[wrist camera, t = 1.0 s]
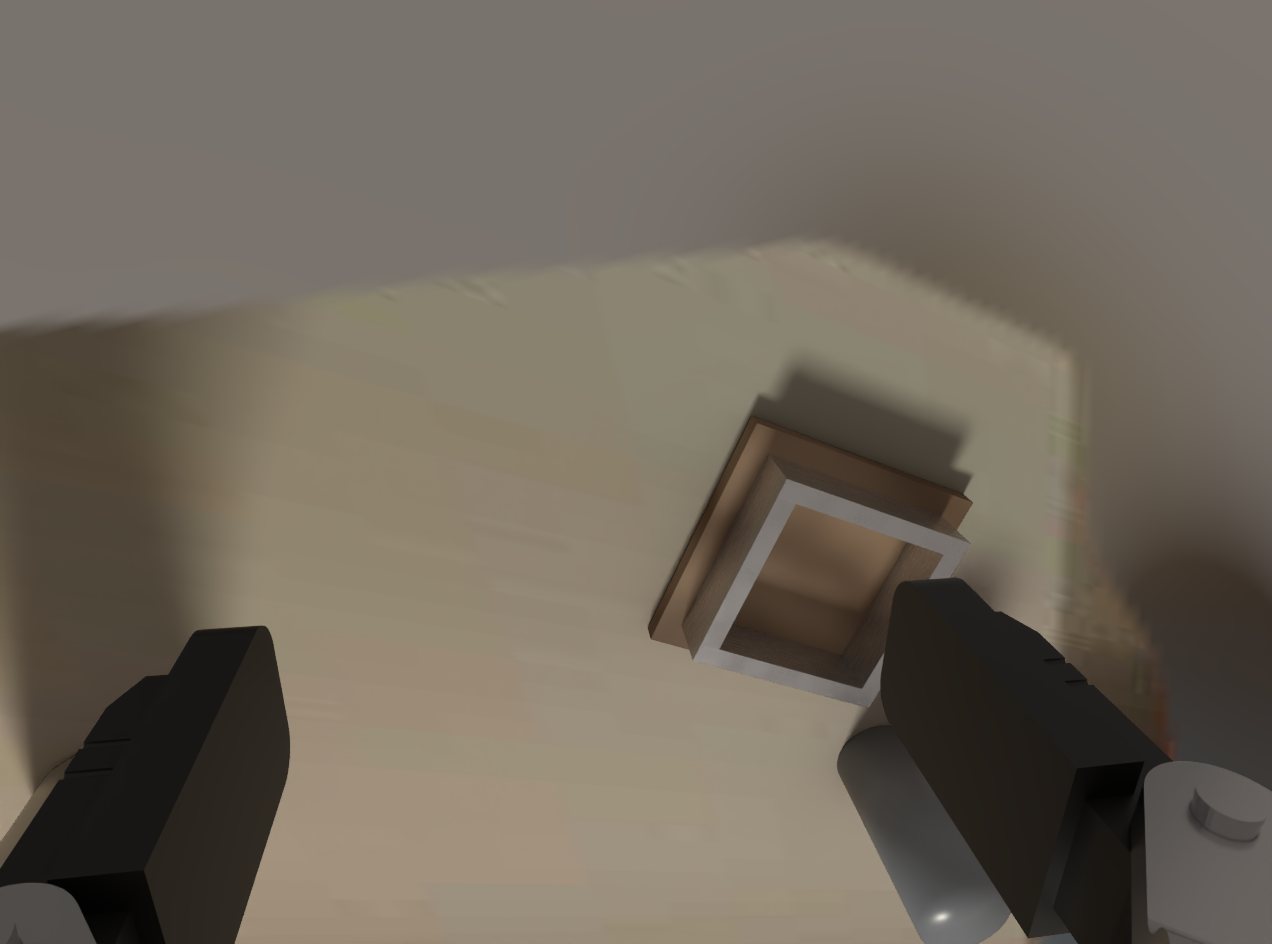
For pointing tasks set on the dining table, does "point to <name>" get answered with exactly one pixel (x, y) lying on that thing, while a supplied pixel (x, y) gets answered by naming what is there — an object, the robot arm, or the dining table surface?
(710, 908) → the dining table surface
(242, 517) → the dining table surface
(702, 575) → the socket board
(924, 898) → the grey capsule cylinder
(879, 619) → the collar
